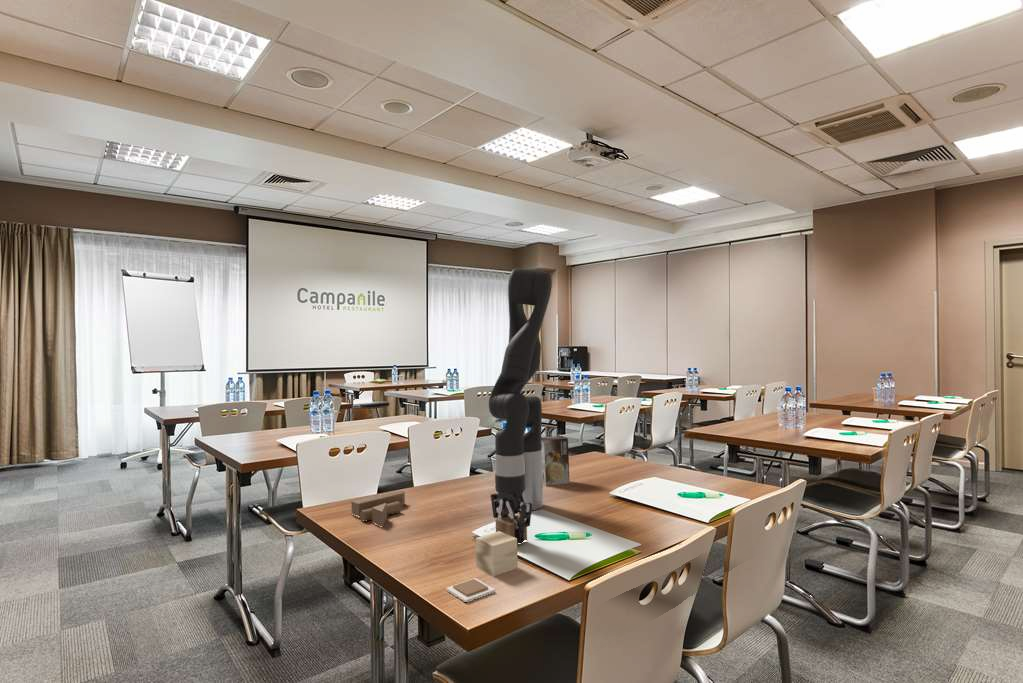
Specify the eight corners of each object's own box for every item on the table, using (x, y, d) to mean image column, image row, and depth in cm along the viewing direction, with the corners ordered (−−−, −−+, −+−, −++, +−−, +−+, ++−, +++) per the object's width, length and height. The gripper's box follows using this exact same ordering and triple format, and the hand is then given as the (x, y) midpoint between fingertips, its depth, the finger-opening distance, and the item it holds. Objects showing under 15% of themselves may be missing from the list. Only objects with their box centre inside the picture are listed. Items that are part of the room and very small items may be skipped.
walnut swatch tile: (446, 590, 107) (446, 585, 107) (475, 580, 111) (475, 575, 111) (465, 603, 102) (465, 598, 102) (495, 592, 106) (495, 587, 106)
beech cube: (476, 567, 119) (475, 537, 119) (499, 559, 123) (499, 531, 123) (493, 576, 113) (493, 545, 114) (517, 568, 117) (517, 538, 118)
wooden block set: (348, 498, 157) (400, 486, 170) (348, 517, 157) (400, 504, 170) (378, 509, 145) (432, 495, 158) (378, 530, 145) (432, 514, 158)
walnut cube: (496, 541, 134) (495, 519, 134) (513, 536, 137) (512, 514, 137) (509, 547, 129) (509, 524, 129) (527, 542, 133) (526, 520, 133)
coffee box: (563, 479, 194) (562, 435, 194) (570, 484, 188) (569, 438, 188) (539, 482, 192) (538, 437, 192) (545, 486, 186) (544, 439, 186)
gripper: (540, 474, 130) (542, 544, 130) (504, 464, 141) (505, 529, 141) (516, 479, 126) (517, 552, 125) (481, 469, 137) (482, 536, 137)
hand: (511, 539), depth 133 cm, fingers closed on walnut cube, 5 cm apart
